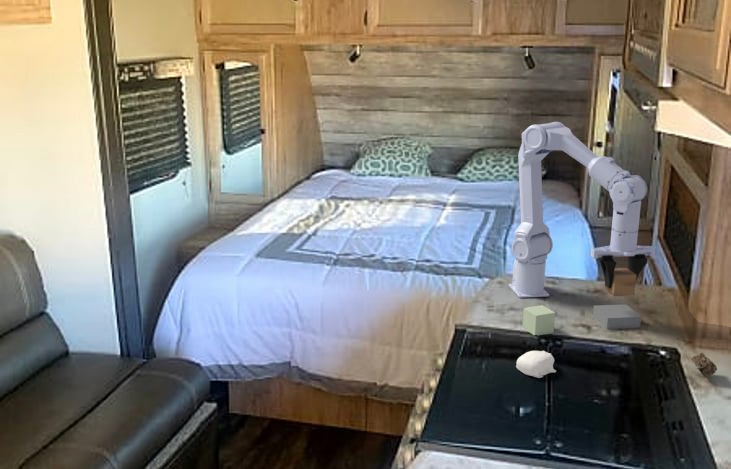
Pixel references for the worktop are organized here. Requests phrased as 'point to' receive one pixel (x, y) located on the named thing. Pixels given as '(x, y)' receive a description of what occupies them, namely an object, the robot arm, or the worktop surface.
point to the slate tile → (616, 316)
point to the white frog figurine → (536, 363)
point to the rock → (704, 365)
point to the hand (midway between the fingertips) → (619, 286)
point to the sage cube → (538, 320)
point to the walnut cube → (622, 283)
